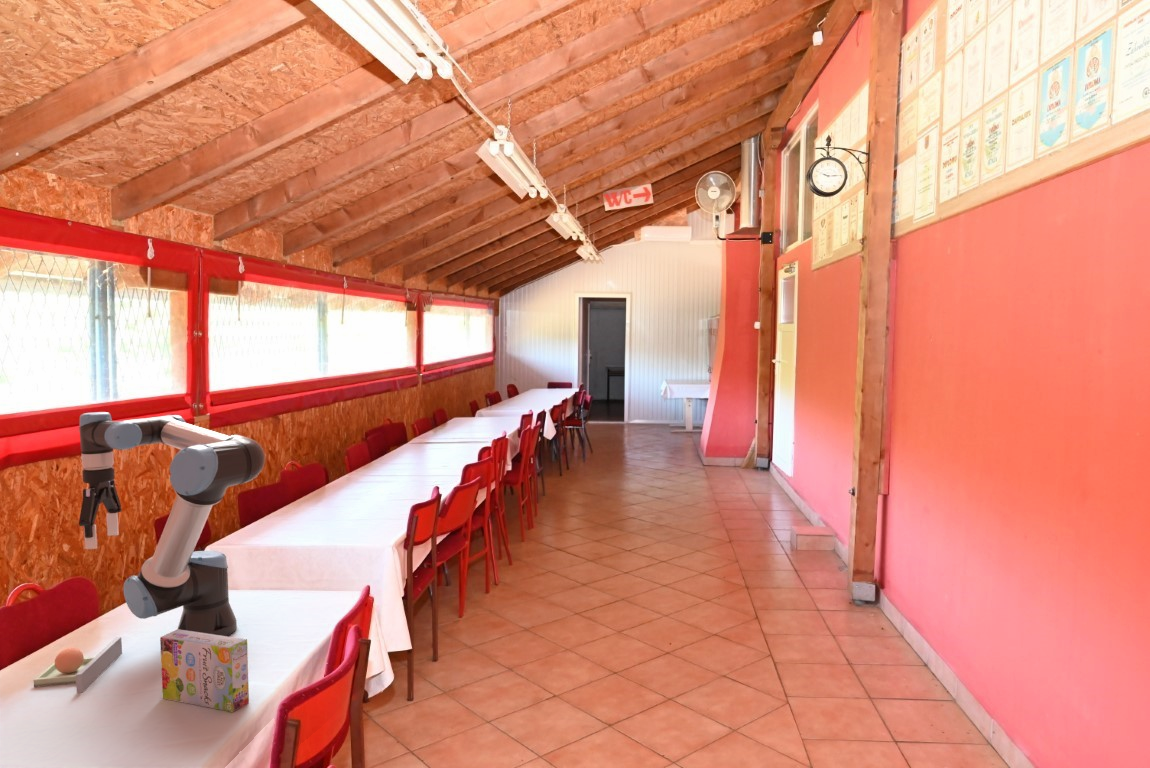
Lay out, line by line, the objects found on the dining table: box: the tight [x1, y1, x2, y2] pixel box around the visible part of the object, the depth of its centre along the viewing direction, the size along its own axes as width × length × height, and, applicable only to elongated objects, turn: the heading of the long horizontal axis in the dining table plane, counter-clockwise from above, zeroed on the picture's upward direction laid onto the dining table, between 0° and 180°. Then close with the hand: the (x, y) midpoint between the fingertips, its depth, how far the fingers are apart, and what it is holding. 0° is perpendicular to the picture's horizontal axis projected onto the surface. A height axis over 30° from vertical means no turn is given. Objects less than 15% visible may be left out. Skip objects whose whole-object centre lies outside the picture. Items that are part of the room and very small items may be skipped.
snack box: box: [159, 628, 250, 713], centre depth 170 cm, size 21×6×15 cm, turn 71°
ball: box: [54, 647, 85, 673], centre depth 184 cm, size 6×6×6 cm
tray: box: [33, 656, 95, 688], centre depth 184 cm, size 11×11×2 cm
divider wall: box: [75, 636, 123, 694], centre depth 185 cm, size 1×22×4 cm, turn 10°
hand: (102, 541), depth 208 cm, fingers open, 13 cm apart
